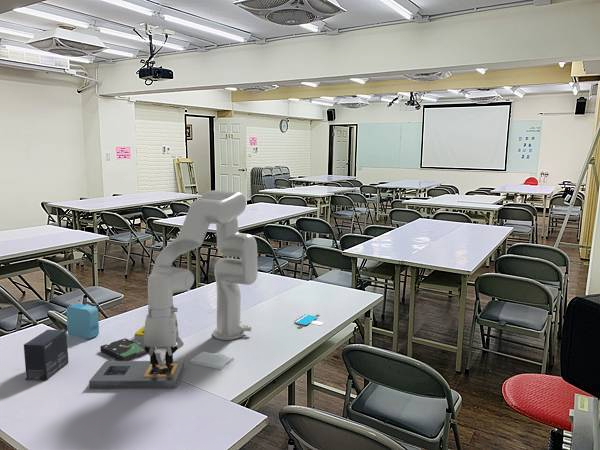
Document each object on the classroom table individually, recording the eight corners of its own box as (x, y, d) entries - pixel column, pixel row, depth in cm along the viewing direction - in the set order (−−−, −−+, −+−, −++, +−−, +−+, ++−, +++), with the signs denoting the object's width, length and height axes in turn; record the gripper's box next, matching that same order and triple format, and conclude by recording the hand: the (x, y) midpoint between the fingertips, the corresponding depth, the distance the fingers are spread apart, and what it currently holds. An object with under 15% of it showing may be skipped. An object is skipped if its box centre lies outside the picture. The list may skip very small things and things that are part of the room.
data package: (99, 336, 177) (98, 306, 176) (90, 340, 173) (89, 310, 171) (76, 331, 181) (75, 302, 180) (67, 335, 177) (65, 306, 176)
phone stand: (312, 332, 188) (312, 329, 188) (287, 327, 194) (287, 323, 193) (331, 318, 206) (331, 315, 206) (308, 314, 211) (308, 310, 211)
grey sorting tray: (184, 367, 152) (184, 360, 152) (175, 388, 138) (175, 380, 138) (106, 368, 150) (106, 360, 150) (89, 388, 136) (89, 380, 136)
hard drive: (190, 359, 156) (221, 366, 152) (203, 351, 163) (233, 356, 159) (190, 364, 156) (221, 370, 152) (203, 355, 164) (233, 361, 159)
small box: (49, 362, 154) (47, 328, 152) (69, 362, 154) (67, 329, 152) (25, 380, 141) (22, 344, 139) (46, 381, 140) (44, 344, 139)
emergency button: (140, 322, 182) (175, 324, 181) (140, 332, 183) (176, 335, 182) (129, 330, 173) (167, 333, 172) (129, 341, 174) (167, 344, 172)
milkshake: (154, 370, 147) (152, 341, 145) (171, 369, 147) (169, 340, 146) (151, 377, 142) (149, 347, 141) (168, 375, 143) (166, 346, 141)
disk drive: (99, 353, 163) (123, 364, 154) (99, 346, 162) (123, 356, 154) (125, 344, 171) (149, 354, 163) (124, 337, 171) (149, 347, 162)
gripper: (189, 307, 146) (190, 360, 149) (137, 307, 145) (138, 360, 147) (185, 315, 139) (185, 371, 141) (130, 315, 137) (131, 371, 140)
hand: (161, 365), depth 144 cm, fingers closed on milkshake, 4 cm apart
